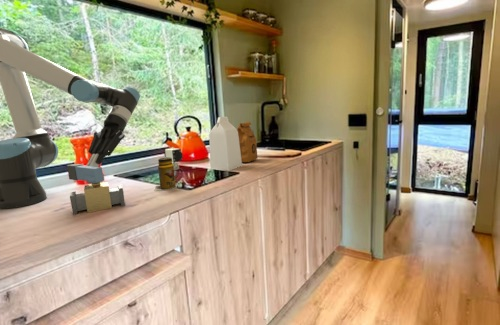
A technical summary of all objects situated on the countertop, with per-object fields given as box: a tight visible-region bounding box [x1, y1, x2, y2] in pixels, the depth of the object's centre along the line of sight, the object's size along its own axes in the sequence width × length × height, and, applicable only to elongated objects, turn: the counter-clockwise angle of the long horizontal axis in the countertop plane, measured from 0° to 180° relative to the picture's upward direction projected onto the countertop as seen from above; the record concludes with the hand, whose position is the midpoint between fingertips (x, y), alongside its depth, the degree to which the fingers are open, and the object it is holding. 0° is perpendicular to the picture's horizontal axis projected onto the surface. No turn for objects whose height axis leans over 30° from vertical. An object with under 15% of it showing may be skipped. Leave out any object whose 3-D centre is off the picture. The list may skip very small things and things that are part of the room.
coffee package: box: [236, 121, 258, 164], centre depth 165 cm, size 10×12×22 cm
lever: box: [66, 163, 105, 184], centre depth 100 cm, size 5×17×5 cm, turn 57°
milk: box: [208, 116, 243, 172], centre depth 151 cm, size 12×12×26 cm
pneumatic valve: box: [163, 146, 184, 171], centre depth 155 cm, size 6×12×12 cm, turn 42°
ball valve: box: [69, 181, 126, 216], centre depth 97 cm, size 15×7×9 cm, turn 117°
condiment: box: [154, 157, 178, 192], centre depth 118 cm, size 7×8×12 cm
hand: (89, 171), depth 103 cm, fingers closed
